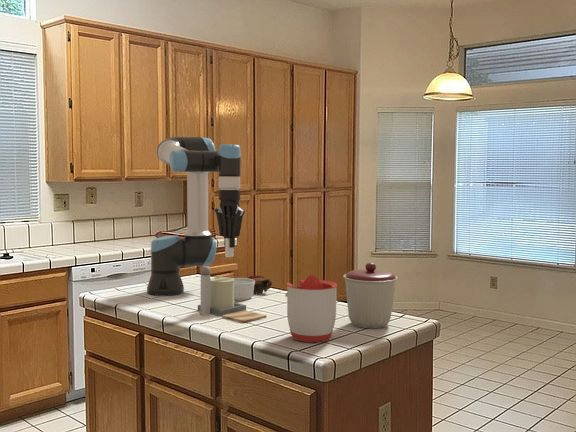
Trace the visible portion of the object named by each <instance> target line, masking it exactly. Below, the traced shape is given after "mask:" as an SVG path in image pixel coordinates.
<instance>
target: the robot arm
mask: <svg viewBox="0 0 576 432" xmlns="http://www.w3.org/2000/svg"><path fill="white" fill-rule="evenodd" d="M156 156H157V158H158V160H159V161H160V162H162V163H164V164H166V165H169V167H170V170H171V171H172V172H178V173H184V172H185V173H186V176H187V177H186V178H187V179H186V180H187V181H186V182H187V184H186V185H187V186H186V187H187V190H186V191H187V195H186V196H187V200H186V203H187V230H186V231H185V232H184V234H183V238H180V236H179V235H165V236H160V237H157V238H154V239H152V241H151V243H150V277H149V280H148V284H147V287H146V293H147V295H150V296H151V295H152V296H156V297H158V296H160V297H161V296H163V297H164V296H165V297H166V296H176V295H180V294H183V293H184V291H185V287H184V286H185V285H184V283H183V280H182V277H181V274H180V271H181V270H180V269H181V267H203V266H210V265H212V264H213V262H214V260H215V258H216V254H217V240H216V239H215V237H212V236H213V235H212V232H210V230H209V173H218V188H219V190H218V200H219V201H220V203H219V207H217V208H214V212H215V215H216V219H217V225H218V231H219V232H218V233H219V236H221V237H223V238H224V239H223V241H224V243H223V244H224V245H223V247H224V249H225V250H224V251H225V252H224V253H225V254H224V256H225V258H233V257H234V256H235V251H234V250H235V246H236V238H238V237H240V236H241V235H240V234H241V229H242V223H243V217H244V215H245V212H246V210H245V209H242V208H241V207H240V206H241V205H240V203H239V202H240V200H241V190H240V189H241V166H242V165H241V162H242V161H241V160H242V159H241V157H242V153H241V146H240V145H239V144H233V143H232V144H229V143H228V144H227V143H226V144H224V143H223V144H220V145H219V146H218V150H216V147H215V143H214V142H213V140H212V139H211V138H210V137H201V136H195V137H194V136H171V137H168V138H165V139H163V140H161V142H159V143H158V145H157V147H156Z"/></svg>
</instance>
